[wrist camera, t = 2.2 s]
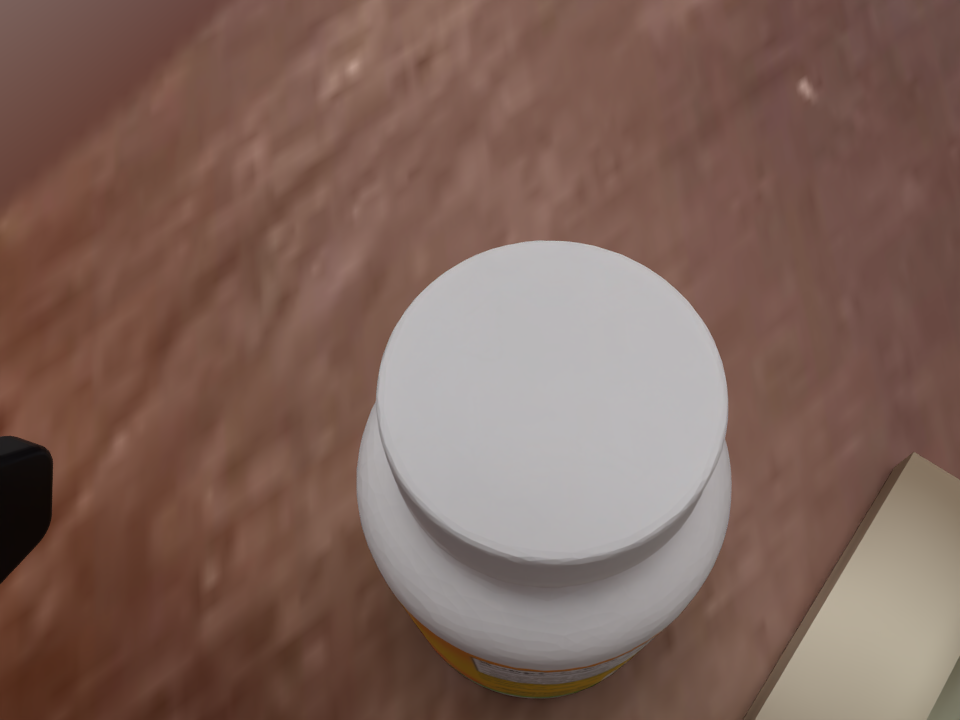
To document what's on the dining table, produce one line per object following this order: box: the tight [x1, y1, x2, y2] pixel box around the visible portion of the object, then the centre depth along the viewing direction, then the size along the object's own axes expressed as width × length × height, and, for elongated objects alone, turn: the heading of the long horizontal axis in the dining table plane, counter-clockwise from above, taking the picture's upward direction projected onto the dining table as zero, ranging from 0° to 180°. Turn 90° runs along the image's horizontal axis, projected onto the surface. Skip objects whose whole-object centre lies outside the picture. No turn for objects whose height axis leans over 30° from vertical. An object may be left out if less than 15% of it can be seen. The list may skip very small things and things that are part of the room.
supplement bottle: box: [357, 241, 732, 698], centre depth 14 cm, size 5×5×10 cm
